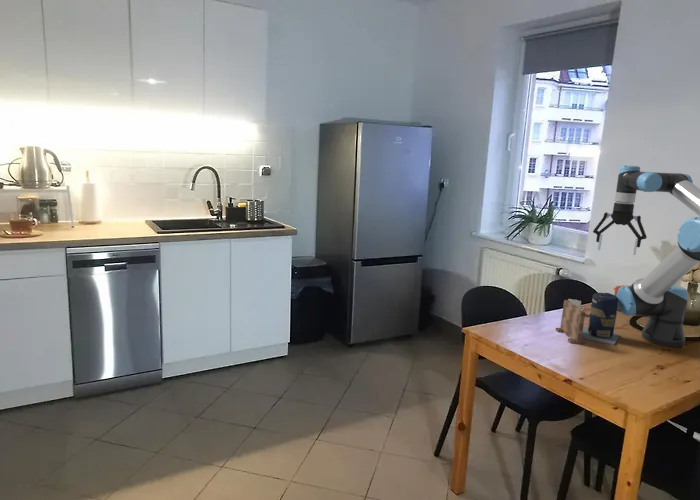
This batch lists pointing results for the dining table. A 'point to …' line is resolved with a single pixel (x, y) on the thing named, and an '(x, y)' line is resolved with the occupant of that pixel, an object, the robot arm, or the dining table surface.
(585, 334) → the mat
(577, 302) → the architectural model
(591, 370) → the dining table surface
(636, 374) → the dining table surface
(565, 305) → the tan upright piece
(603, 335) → the canister
